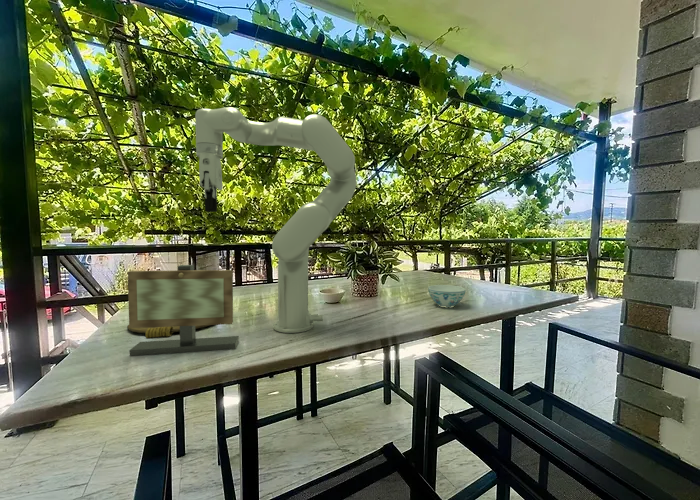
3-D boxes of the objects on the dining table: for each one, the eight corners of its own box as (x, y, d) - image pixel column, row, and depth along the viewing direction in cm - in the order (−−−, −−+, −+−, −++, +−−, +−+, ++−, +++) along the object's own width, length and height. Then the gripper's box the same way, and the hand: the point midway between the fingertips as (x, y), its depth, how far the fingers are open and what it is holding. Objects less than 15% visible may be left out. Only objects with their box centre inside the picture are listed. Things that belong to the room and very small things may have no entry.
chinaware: (471, 311, 124) (471, 291, 123) (432, 310, 124) (433, 291, 123) (458, 302, 139) (458, 284, 138) (424, 302, 139) (424, 284, 138)
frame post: (238, 341, 89) (237, 263, 88) (235, 348, 83) (233, 266, 82) (140, 347, 84) (137, 265, 83) (129, 356, 78) (126, 268, 77)
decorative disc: (228, 305, 125) (217, 323, 96) (228, 314, 125) (217, 334, 96) (145, 310, 117) (107, 331, 88) (145, 319, 117) (107, 343, 88)
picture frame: (233, 321, 84) (232, 269, 84) (231, 324, 82) (231, 270, 81) (132, 325, 80) (131, 270, 79) (128, 328, 77) (127, 271, 77)
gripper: (217, 146, 91) (218, 210, 92) (226, 158, 106) (228, 213, 107) (189, 145, 90) (191, 210, 91) (202, 157, 104) (204, 212, 105)
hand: (211, 211), depth 99 cm, fingers closed
